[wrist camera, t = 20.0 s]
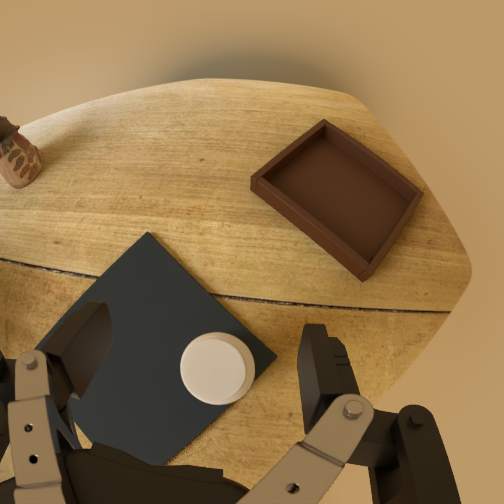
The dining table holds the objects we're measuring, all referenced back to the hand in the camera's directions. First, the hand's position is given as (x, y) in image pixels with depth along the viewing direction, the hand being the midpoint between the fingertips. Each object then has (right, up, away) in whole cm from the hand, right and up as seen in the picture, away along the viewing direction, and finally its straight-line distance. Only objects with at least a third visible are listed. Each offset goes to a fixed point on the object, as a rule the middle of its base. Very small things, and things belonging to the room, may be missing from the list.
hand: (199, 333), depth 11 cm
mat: (-9, -7, +14) cm, 18 cm away
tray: (+12, +10, +21) cm, 26 cm away
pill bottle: (0, -7, +14) cm, 15 cm away
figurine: (-33, +16, +22) cm, 43 cm away
